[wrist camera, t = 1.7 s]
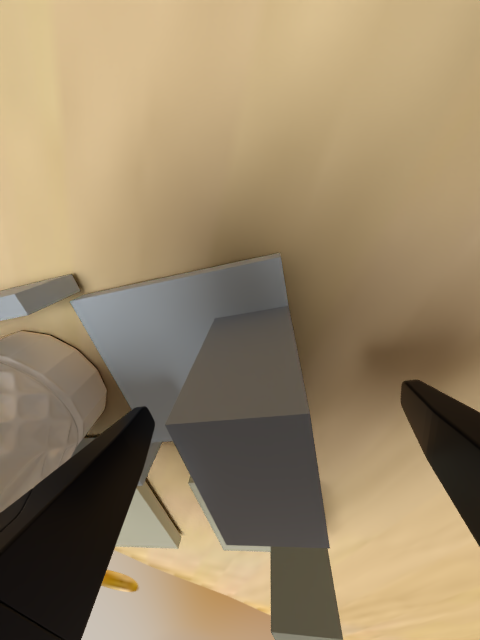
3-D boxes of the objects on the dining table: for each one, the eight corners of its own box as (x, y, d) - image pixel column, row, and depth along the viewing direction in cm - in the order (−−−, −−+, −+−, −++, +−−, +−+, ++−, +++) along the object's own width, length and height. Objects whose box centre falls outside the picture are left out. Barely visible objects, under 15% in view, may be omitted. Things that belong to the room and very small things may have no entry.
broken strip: (313, 466, 14) (340, 623, 9) (325, 540, 18) (349, 682, 13) (38, 476, 18) (-57, 587, 13) (93, 534, 22) (37, 640, 17)
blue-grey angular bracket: (275, 225, 9) (287, 260, 3) (308, 432, 13) (335, 591, 8) (-98, 313, 12) (-374, 396, 7) (27, 450, 17) (-85, 563, 12)
